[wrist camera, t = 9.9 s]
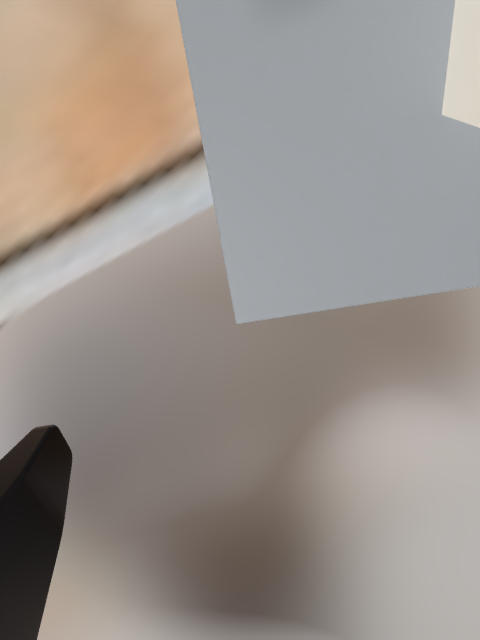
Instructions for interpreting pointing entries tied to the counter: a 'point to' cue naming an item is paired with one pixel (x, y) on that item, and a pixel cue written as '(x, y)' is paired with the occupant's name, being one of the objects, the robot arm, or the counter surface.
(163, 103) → the counter surface
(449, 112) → the tea box
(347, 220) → the shelf
